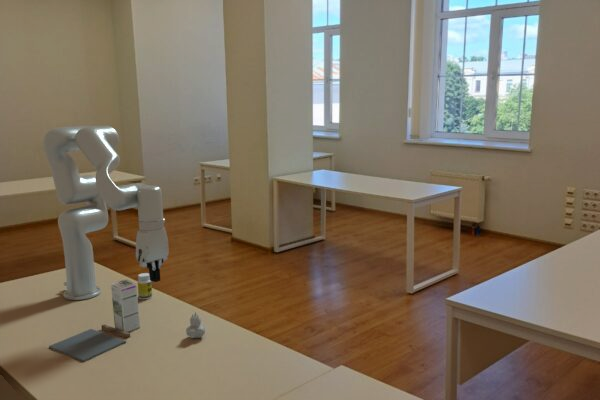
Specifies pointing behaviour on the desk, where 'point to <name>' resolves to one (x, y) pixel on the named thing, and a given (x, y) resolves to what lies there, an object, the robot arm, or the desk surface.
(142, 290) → the supplement bottle
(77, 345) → the mat
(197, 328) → the white irregular lump
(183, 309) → the desk surface
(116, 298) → the syrup box
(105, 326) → the strip
